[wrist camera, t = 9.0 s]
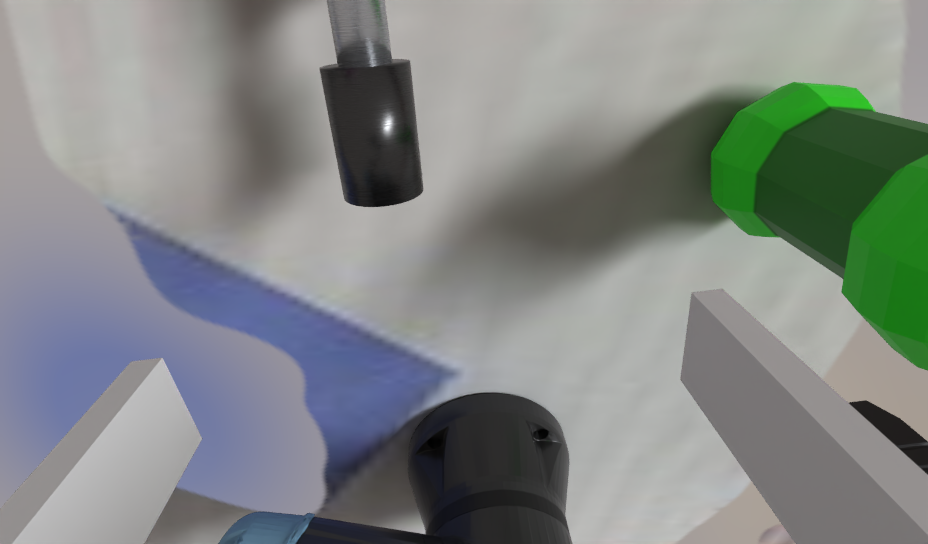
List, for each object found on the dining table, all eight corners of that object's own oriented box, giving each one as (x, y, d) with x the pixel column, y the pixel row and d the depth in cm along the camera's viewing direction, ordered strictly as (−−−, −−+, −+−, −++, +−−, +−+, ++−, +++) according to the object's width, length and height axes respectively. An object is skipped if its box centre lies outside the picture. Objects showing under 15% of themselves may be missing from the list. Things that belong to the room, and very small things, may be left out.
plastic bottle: (656, 191, 35) (1032, 503, 13) (747, 41, 30) (1567, 129, 8) (765, 236, 37) (1244, 566, 15) (865, 102, 32) (1756, 298, 11)
